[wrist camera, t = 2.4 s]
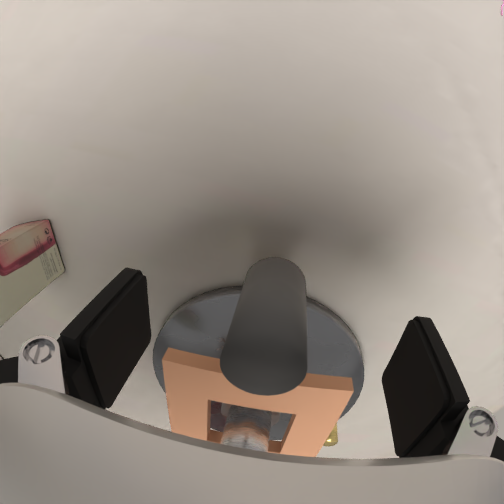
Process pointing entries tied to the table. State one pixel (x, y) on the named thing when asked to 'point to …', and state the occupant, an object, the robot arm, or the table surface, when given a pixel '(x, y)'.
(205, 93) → the table surface
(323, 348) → the post base
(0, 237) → the small box
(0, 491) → the robot arm
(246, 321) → the tan handled frame
